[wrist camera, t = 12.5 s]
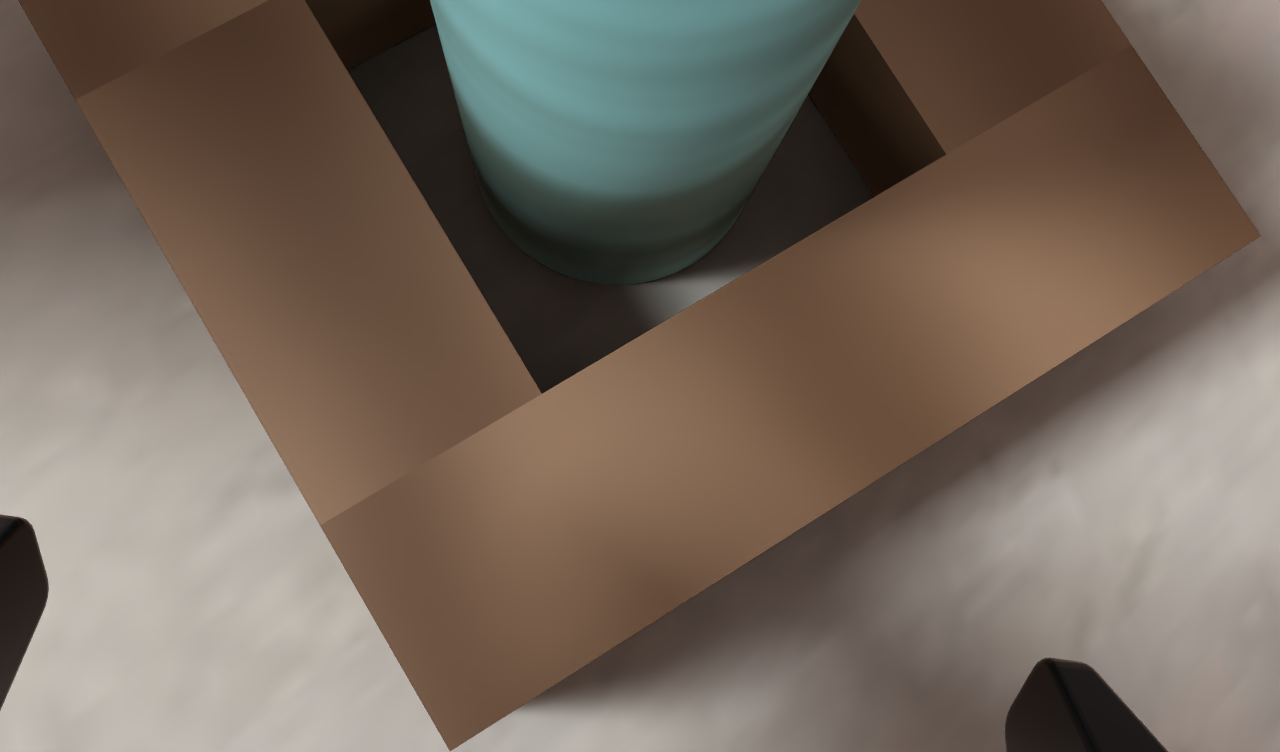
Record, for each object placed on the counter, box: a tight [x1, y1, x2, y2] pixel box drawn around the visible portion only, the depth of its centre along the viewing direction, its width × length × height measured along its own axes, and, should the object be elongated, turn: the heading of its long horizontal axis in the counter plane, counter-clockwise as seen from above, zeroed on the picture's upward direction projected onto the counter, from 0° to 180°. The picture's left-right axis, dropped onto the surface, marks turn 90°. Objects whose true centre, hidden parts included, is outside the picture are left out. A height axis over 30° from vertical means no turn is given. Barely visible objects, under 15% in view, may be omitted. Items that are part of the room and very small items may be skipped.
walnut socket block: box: [18, 0, 1261, 751], centre depth 17 cm, size 14×14×3 cm
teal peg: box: [430, 0, 861, 285], centre depth 13 cm, size 5×5×10 cm
